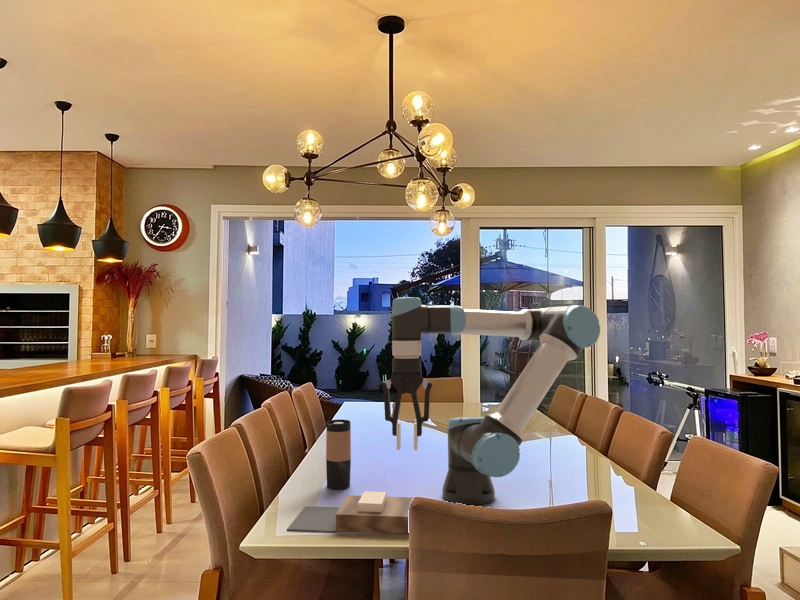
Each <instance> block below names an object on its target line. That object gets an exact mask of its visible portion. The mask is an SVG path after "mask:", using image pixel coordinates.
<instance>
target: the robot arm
mask: <svg viewBox="0 0 800 600" xmlns="http://www.w3.org/2000/svg"><path fill="white" fill-rule="evenodd" d="M391 306H392V307H391V308H392V309H391V323H392V324H391V325H392V326H391V327H392V329H391V331H392V333H391V334H392V340H391V344H392V345H391V351H392V356H393V358H392V361H391V364H392V365H391V366H392V367H391V369H392V373H391V377H390V379H388V380H386V381H384V380H383V381H382V382H381V384H380V386H381V389H382V390H383V401H384V402H383V403H384V404H383V405H384V407H383V408H384V419H385V421H386V422H390V423H391V425H392V426H391V431H392V432H391V434H392V436H393V437H394V436H395V437H396V450H397V451H399V450H401V445H402V443H401V431H402V430H401V429H402V427H401V421H399V414H400V409H401V405H402V399H403V395H404V394H410V396H411V401H412V405H413V409H414V410H413V411H414V414H415V420H416V422H415V421H414V422H413V450H414V451H417V450H418V448H419V445H418V444H419V443H418V441H419V440H418V438H419V437H422V434H423V423H425V422H428V421H429V419H430V402H431V401H430V398H431V397H430V396H431V389H432V388H433V384H434V383H433V382H432V381H429V380H425V379H424V377H423V375H422V358H421V357H420V356H422V335H423V334H424V335H427V334H428V335H429V334H430V335H432V334H433V335H436V334H437V335H439V334H440V335H442V334H443V335H445V334H447V335H449V334H450V335H472V336H494V337H495V336H496V337H512V338H513V337H516V338H518V339H519V340H520V341H529V342H536V343H540V344H539V346H538V347H537V349H536V350H535V352H534V353H533V355H532V357H531V358H530V359H529V361H528V362H527V364H526V365H525V366H524V368H523V370H522V371H521V373H520V374H519V376H518V377H517V378H516V380H515V382H514V383H513V385H512V386H511V388H510V389H509V391H508V392H507V394H506V395H505V397H504V398H503V400H502V401H501V403H500V404H499V405H498V407H497V408H496V410H495V411H494V412H493V413H489V414H486V415H485V416H460V417H459V416H458V417H452V418H450V419H449V420H448V422H447V455H448V456H447V457H448V458H447V463H448V467H447V468H448V469H447V473H446V476H445V479H444V482H443V485H442V498H443V499H444V500H446V501H448V502H449V501H450V503H452V502H457V503H462V504H470V505H469V506H482V505H486V504H489V503H492V502H493V501H494V500H495V498H496V495H495V494H496V493H495V488H494V484H493V481H492V478H502V477H505V476H507V475H509V474H510V473H512V472H513V471H514V470H515V468H517V466H518V464H519V461H520V458H521V454H520V446H521V444H522V443H523V441H524V438H523V434H522V433H523V430H524V429H525V427H526V426H527V425H528V422H529V421H530V419H531V418H532V417H533V415H534V413H535V412H536V410H537V409H538V407H539V406H540V404H541V403H542V401H543V400H544V398H545V397H546V395H547V393H548V392H549V390H550V389H551V387H552V386H553V384H554V383H555V381H556V380H557V378H558V376H559V375H560V373H561V372H562V370H563V369H564V368H565V366H566V364H567V362H570V361H575V360H576V359H577V357H578V356H579V355H580V354H581V352H582V350H583V349H587V348H589V347H591V346H594V345H595V344H596V343H597V342H598V340H599V338H600V334H601V325H600V320H599V318H598V316H597V314H596V313H595V311H594V310H593V309H591V308H590V307H588V306H585V305H578V304H571V305H567V306H566V305H565V306H563V305H562V306H560V305H559V306H548V307H541V308H533V309H532V308H531V309H530V308H529V309H528V308H523V309H520V310H519V311H505V310H489V309H488V310H487V309H474V308H473V309H471V308H470V309H469V308H463V307H462V306H461V305H453V304H450V305H449V304H448V305H446V304H445V305H437V304H436V305H426V304H422V300H421V298H419V297H413V296H412V297H409V296H408V297H405V296H404V297H403V296H402V297H401V296H400V297H396V298H394V299H393V300H392V305H391ZM391 385H392V386H393V387H394V388H395V390H396V398H395V403H394V407H393V408H394V410H393V414H391V397H390V396H391V395H390V393H391V392H390V389H391V387H392V386H391ZM422 385H423V390H425V391H424V404H423V416H422V413H421V407H420V401H419V399H418V390H419V388H420V386H422ZM478 504H480V505H478Z"/></svg>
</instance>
